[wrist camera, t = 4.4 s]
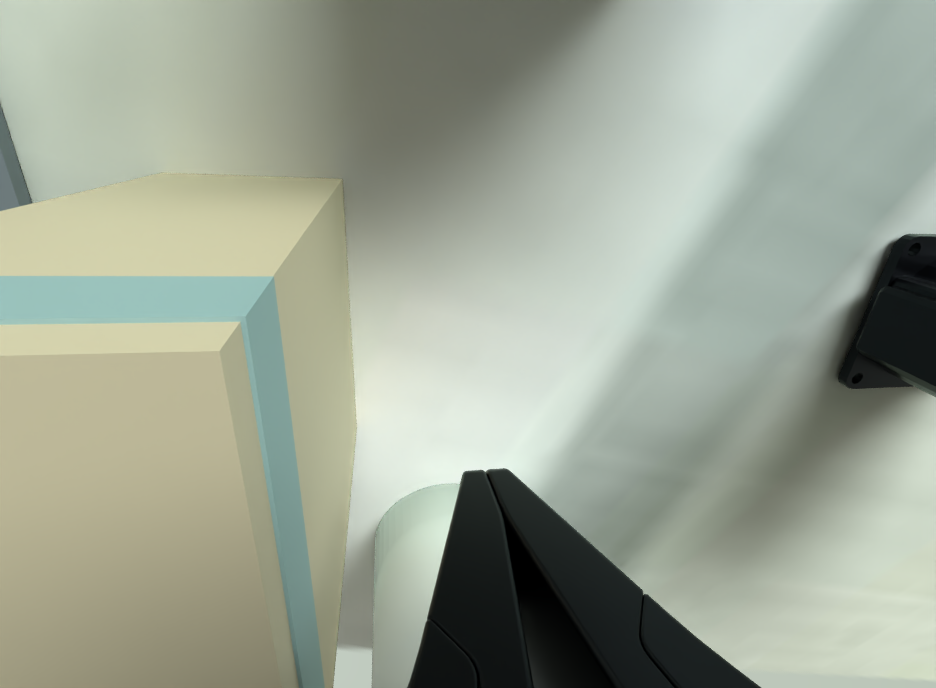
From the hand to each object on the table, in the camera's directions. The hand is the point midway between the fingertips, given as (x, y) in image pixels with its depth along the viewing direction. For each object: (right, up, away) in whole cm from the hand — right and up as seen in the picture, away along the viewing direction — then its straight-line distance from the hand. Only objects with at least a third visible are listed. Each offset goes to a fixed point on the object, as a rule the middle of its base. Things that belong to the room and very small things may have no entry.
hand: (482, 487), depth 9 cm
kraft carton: (-7, +4, +7) cm, 10 cm away
